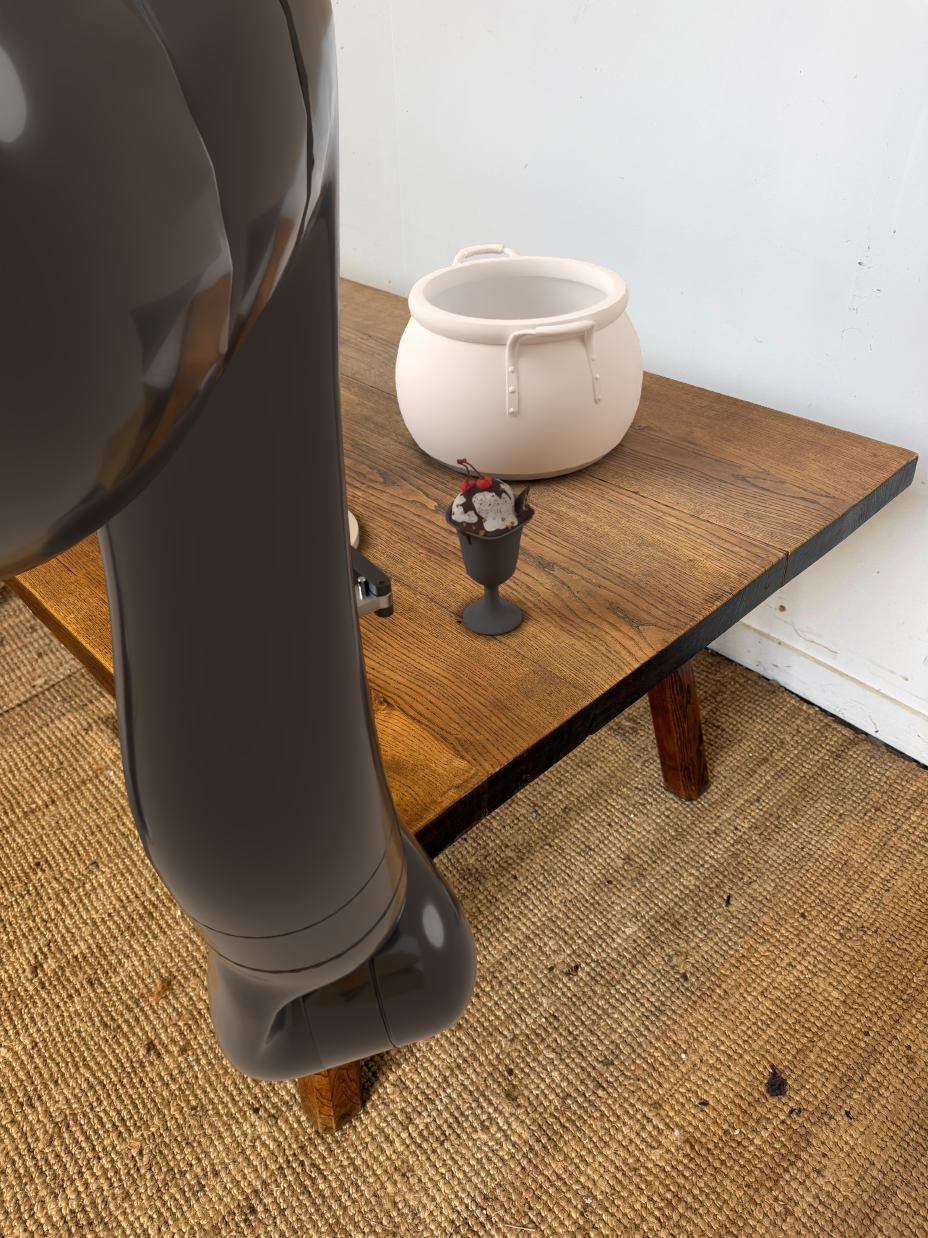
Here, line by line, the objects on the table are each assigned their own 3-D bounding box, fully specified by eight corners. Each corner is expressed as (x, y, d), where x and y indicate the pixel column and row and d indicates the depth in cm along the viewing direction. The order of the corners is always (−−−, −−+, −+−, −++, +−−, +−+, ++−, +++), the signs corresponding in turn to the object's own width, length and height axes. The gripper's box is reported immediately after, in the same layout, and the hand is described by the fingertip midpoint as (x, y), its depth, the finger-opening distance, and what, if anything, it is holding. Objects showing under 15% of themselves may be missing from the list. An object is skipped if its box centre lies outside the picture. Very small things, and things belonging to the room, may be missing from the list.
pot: (380, 402, 108) (364, 256, 98) (583, 373, 113) (589, 230, 102) (432, 520, 86) (419, 347, 75) (683, 477, 90) (704, 308, 80)
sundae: (435, 620, 73) (422, 458, 64) (488, 584, 77) (483, 425, 68) (494, 653, 69) (490, 486, 60) (548, 613, 73) (551, 450, 64)
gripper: (421, 618, 47) (367, 471, 60) (147, 669, 44) (154, 504, 58) (430, 719, 51) (378, 562, 65) (182, 771, 49) (181, 596, 62)
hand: (273, 535), depth 61 cm, fingers closed on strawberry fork, 3 cm apart
